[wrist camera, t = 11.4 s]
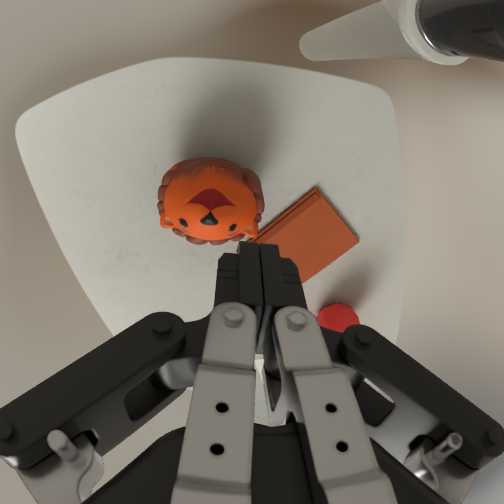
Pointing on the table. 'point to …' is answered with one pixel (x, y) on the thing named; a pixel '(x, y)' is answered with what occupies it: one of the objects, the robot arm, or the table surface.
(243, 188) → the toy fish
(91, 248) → the table surface
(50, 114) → the table surface
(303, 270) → the book
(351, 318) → the apple
